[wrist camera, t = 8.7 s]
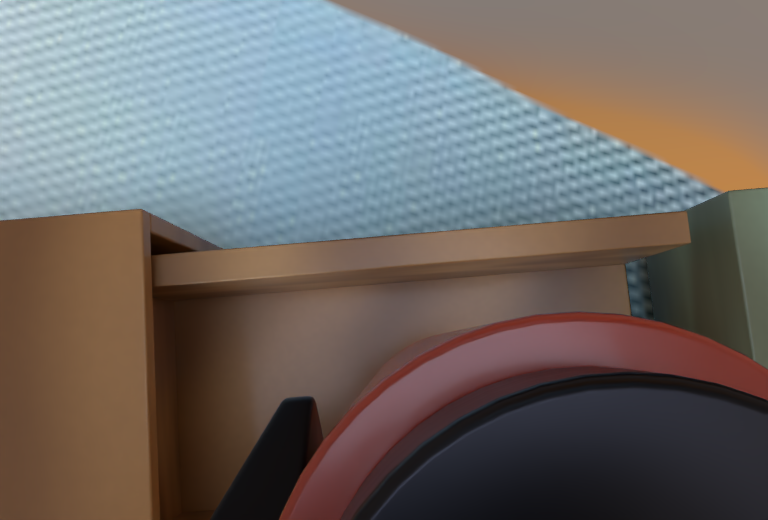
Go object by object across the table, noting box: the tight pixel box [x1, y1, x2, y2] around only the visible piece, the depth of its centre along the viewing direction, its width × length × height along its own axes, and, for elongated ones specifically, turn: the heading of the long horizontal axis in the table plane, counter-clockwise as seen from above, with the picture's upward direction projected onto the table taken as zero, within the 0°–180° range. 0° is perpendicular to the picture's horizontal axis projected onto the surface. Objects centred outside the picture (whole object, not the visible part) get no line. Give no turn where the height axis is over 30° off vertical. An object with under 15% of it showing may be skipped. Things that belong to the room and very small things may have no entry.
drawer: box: [151, 188, 768, 520], centre depth 18 cm, size 21×9×6 cm, turn 95°
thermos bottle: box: [279, 311, 768, 520], centre depth 9 cm, size 5×5×10 cm
